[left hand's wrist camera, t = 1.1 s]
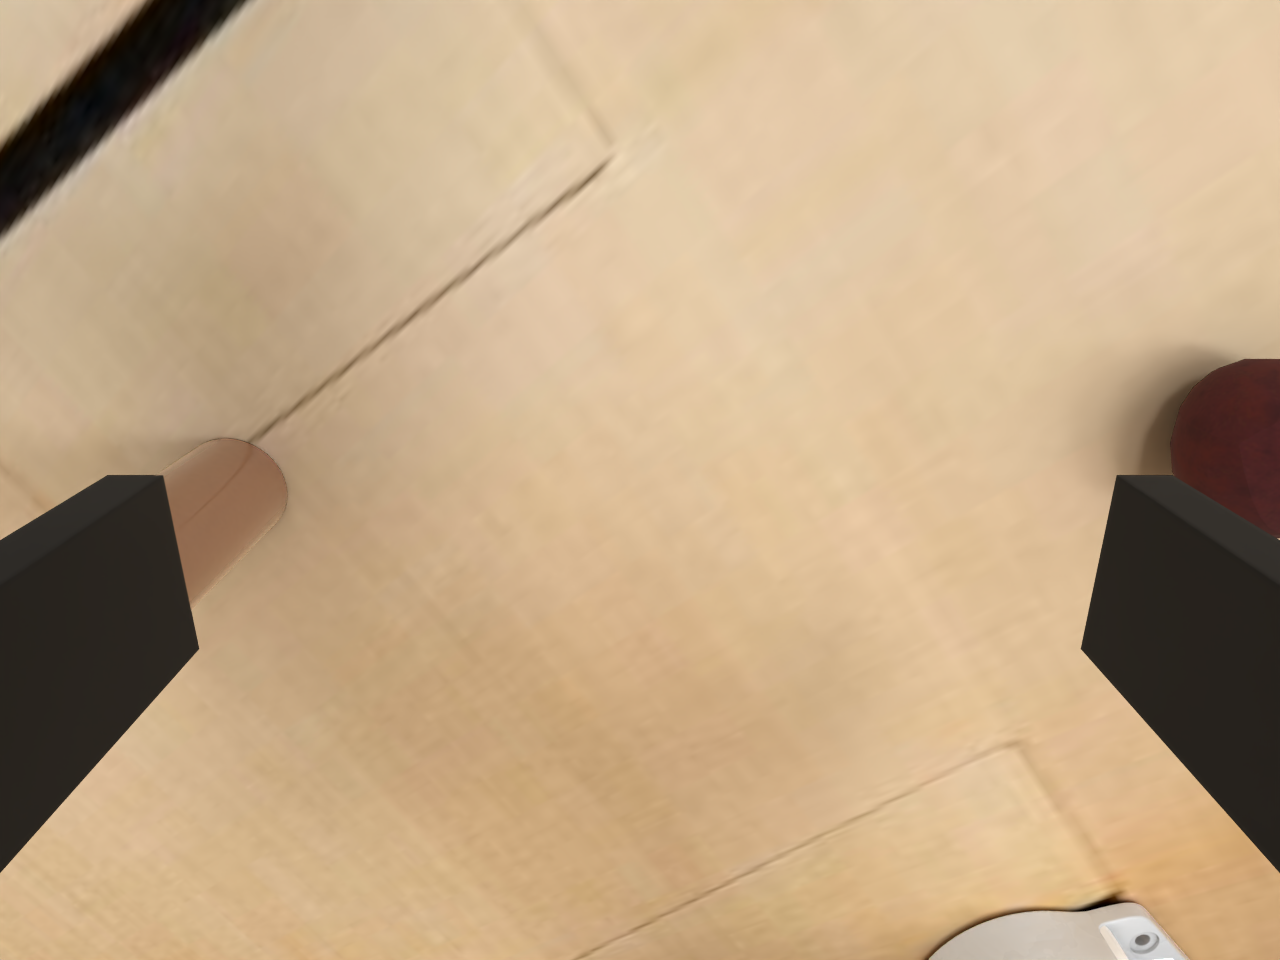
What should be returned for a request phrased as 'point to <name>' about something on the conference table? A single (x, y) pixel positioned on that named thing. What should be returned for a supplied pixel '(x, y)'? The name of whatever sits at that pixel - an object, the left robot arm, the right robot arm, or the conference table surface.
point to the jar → (221, 508)
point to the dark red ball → (1234, 440)
